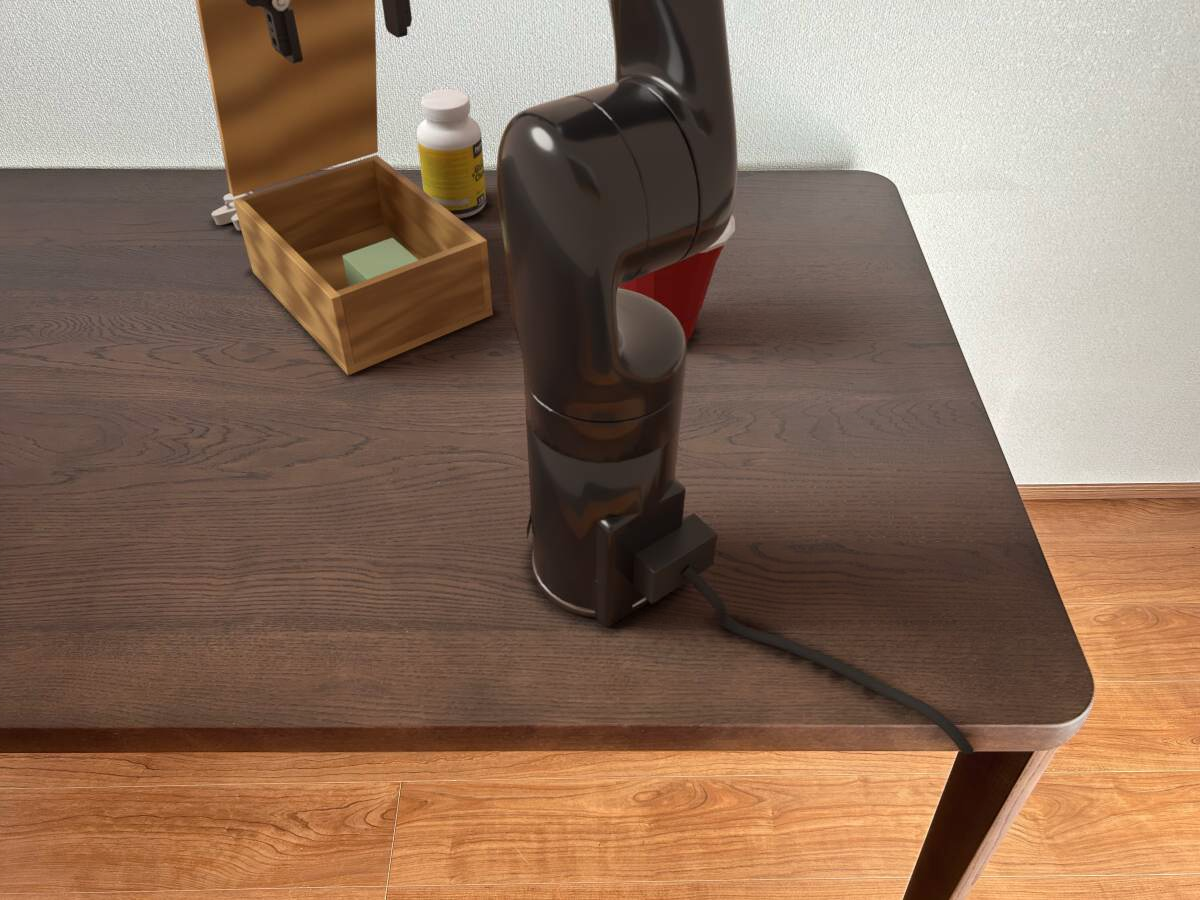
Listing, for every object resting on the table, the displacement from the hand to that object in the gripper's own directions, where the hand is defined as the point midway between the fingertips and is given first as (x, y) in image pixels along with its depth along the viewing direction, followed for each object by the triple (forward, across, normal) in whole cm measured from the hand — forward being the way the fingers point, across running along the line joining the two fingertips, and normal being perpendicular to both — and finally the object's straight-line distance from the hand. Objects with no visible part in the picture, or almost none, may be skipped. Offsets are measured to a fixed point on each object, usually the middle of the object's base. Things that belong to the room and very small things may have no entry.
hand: (346, 46), depth 72 cm
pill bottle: (+24, +15, +13) cm, 31 cm away
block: (+23, 0, 0) cm, 23 cm away
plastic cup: (+24, +18, -17) cm, 35 cm away
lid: (+6, 0, +11) cm, 12 cm away
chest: (+24, 0, +4) cm, 24 cm away
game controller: (+24, -1, +23) cm, 33 cm away
